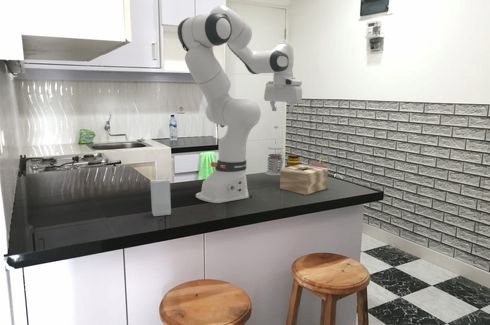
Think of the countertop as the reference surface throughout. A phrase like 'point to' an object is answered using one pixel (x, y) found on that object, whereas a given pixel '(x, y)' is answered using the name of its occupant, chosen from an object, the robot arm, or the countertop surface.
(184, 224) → the countertop surface
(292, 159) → the condiment
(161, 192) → the skincare box
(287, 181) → the box
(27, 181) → the countertop surface
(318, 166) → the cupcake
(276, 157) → the french press
